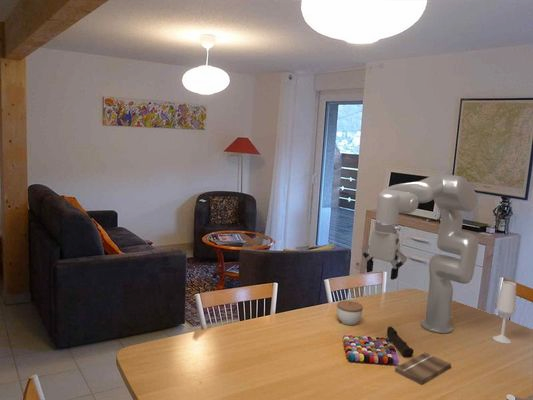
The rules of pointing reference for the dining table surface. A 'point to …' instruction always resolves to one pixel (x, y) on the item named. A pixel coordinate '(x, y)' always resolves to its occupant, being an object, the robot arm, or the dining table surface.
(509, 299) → the champagne flute
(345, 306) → the lidded jar
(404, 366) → the board
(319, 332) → the dining table surface
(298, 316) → the dining table surface
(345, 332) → the dining table surface
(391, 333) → the hand tool
